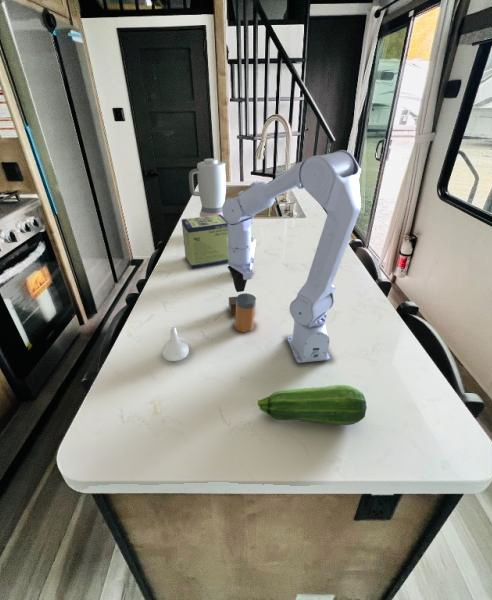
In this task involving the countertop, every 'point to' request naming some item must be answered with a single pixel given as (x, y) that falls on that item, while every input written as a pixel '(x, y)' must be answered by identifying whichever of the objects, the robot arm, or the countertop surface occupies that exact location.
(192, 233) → the protein box
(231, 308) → the prop block
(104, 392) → the countertop surface
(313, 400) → the vegetable
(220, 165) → the blender
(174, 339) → the garlic bulb
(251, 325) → the orange and grey block
